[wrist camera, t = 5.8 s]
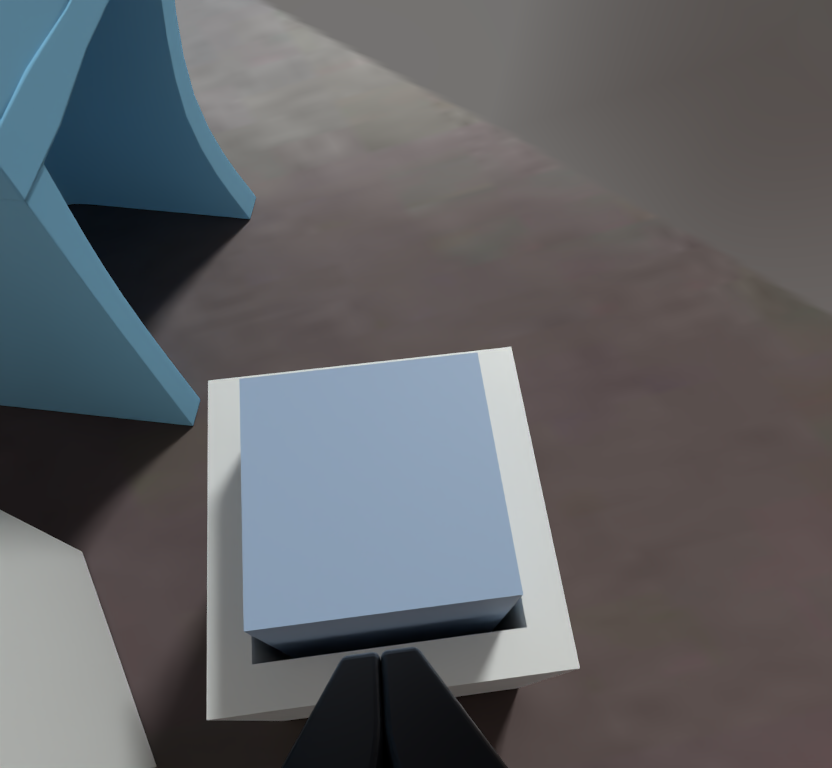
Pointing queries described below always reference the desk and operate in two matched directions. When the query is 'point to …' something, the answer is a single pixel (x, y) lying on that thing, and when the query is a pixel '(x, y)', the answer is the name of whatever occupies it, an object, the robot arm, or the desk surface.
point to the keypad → (226, 640)
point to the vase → (94, 198)
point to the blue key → (372, 507)
